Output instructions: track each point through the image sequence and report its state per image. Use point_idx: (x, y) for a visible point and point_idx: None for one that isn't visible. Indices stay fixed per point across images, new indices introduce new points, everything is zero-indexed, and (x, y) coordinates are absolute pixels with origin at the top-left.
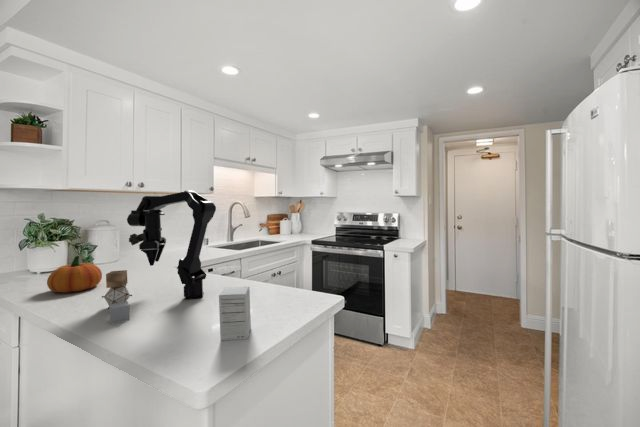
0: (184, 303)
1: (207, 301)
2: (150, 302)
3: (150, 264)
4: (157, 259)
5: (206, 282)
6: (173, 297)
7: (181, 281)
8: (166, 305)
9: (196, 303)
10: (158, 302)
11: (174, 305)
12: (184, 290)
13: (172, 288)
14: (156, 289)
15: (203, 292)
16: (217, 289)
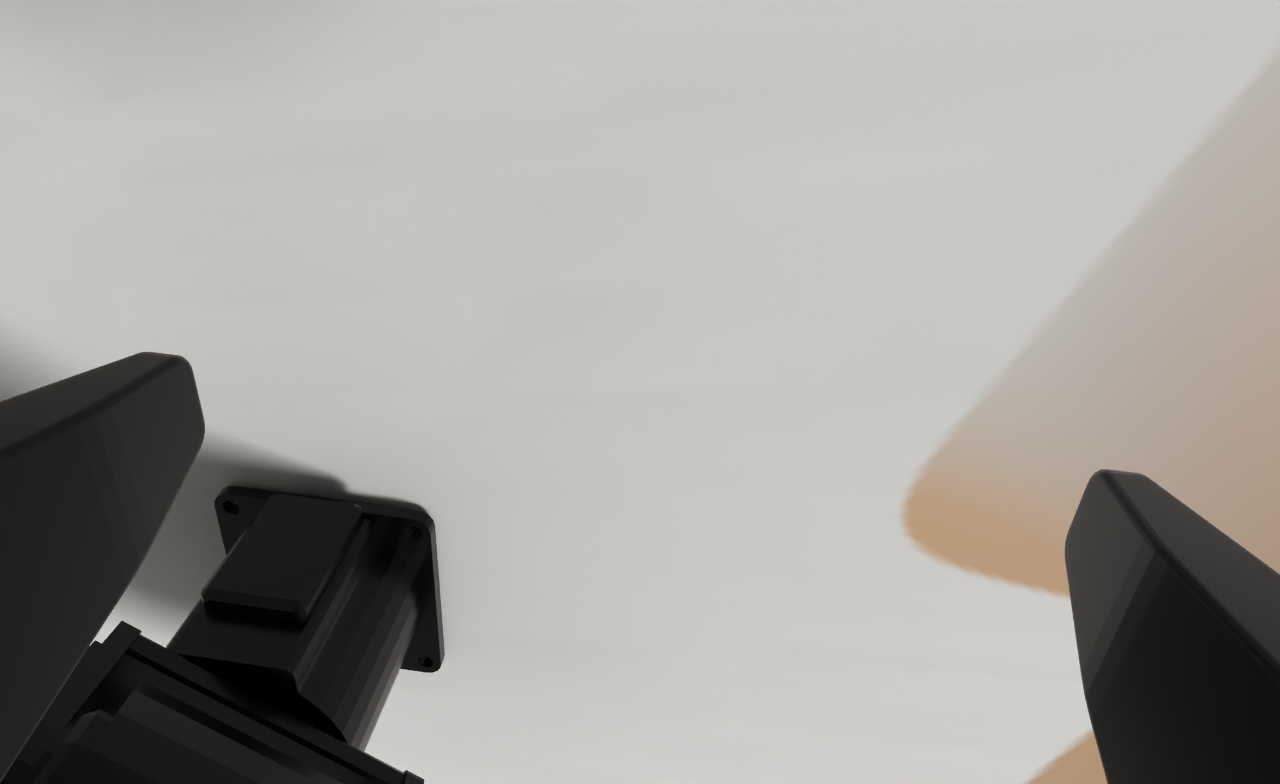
0: None
1: None
2: (211, 60)
3: (117, 381)
4: (1087, 587)
5: (1027, 741)
6: (389, 362)
7: (90, 646)
8: (36, 293)
9: None
10: (187, 182)
11: (28, 378)
12: (226, 560)
13: (977, 338)
14: (1115, 57)
15: (421, 671)
16: (568, 777)
